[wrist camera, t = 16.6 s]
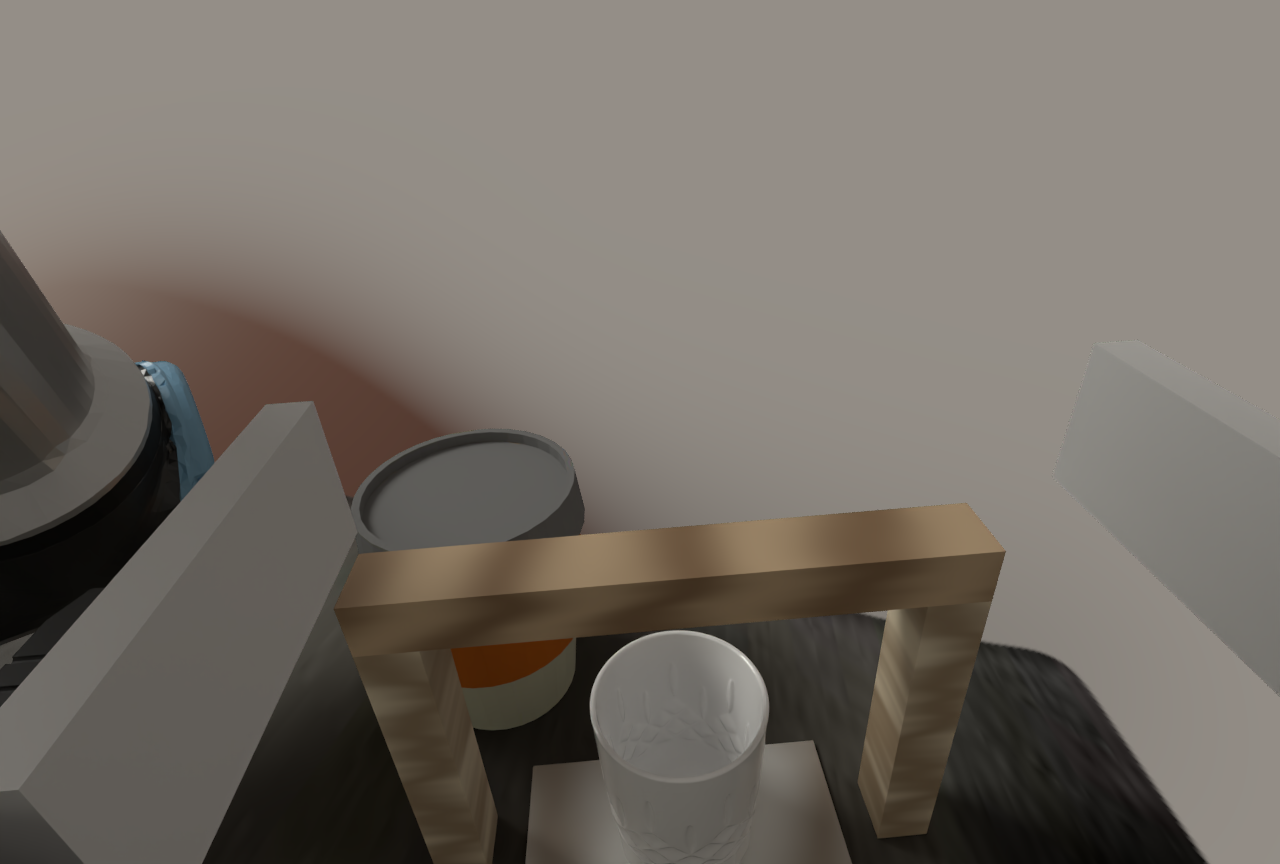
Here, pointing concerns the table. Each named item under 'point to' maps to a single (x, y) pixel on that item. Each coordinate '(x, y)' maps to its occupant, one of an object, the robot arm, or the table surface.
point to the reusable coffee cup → (474, 514)
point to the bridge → (661, 600)
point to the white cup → (681, 746)
